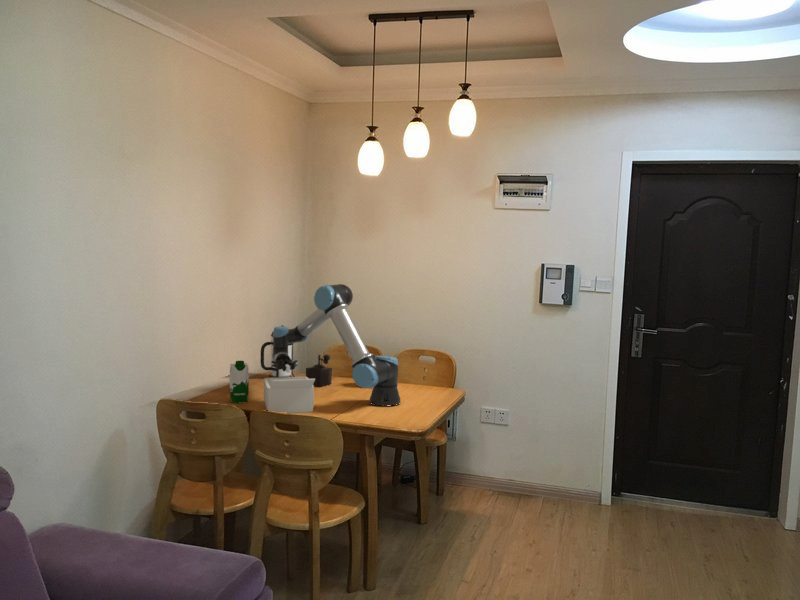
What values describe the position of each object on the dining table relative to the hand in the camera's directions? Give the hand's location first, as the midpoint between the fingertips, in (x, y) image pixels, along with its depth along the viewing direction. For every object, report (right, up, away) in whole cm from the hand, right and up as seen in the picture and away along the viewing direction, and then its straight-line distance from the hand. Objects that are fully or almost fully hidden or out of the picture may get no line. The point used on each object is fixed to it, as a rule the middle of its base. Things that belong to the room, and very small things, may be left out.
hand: (288, 369), depth 310 cm
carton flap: (+4, -4, -14) cm, 15 cm away
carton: (-1, -18, +3) cm, 18 cm away
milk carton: (-26, -17, +12) cm, 33 cm away
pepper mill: (+10, -14, +51) cm, 54 cm away
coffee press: (-16, -12, +67) cm, 70 cm away
